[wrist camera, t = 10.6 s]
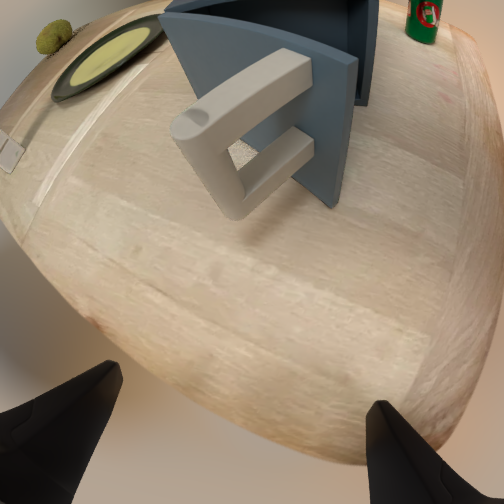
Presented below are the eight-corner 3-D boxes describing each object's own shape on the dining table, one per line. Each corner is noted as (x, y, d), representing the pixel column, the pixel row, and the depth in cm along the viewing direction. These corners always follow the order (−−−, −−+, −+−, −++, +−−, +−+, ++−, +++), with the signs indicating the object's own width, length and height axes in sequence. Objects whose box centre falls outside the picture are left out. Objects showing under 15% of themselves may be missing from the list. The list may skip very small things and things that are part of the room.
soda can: (411, 28, 25) (417, -28, 14) (438, 42, 24) (449, -15, 12) (399, 33, 25) (405, -29, 14) (428, 48, 23) (440, -15, 12)
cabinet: (367, 106, 21) (379, -8, 10) (210, 110, 25) (163, 9, 13) (352, 59, 24) (353, -31, 12) (223, 64, 27) (192, -18, 15)
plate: (185, 9, 39) (181, 1, 36) (156, 68, 30) (149, 56, 28) (86, 53, 44) (81, 47, 41) (38, 128, 35) (30, 121, 33)
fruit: (61, 51, 56) (30, 42, 44) (56, 63, 65) (28, 55, 53) (81, 19, 54) (52, 10, 42) (74, 33, 63) (47, 25, 51)
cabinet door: (269, 269, 19) (209, 164, 7) (156, 156, 24) (85, 66, 12) (338, 202, 19) (359, 58, 8) (211, 111, 24) (165, 11, 13)
